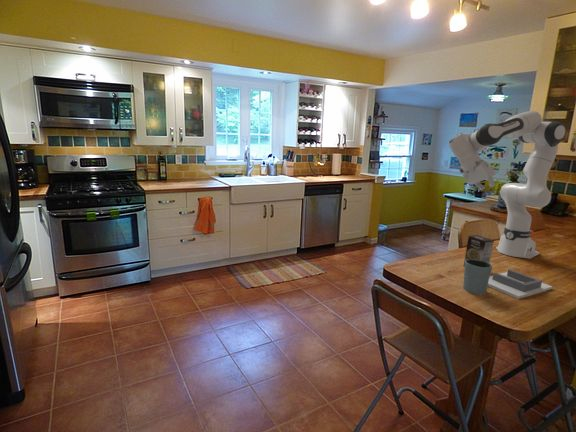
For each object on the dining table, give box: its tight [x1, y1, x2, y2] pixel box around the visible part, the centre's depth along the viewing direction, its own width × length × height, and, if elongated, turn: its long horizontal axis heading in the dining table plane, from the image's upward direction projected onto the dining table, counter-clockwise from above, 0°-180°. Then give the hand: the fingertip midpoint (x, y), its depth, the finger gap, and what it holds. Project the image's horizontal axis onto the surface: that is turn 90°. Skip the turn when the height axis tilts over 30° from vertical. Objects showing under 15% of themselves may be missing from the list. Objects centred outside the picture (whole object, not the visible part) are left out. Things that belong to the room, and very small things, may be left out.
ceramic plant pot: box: [462, 259, 493, 295], centre depth 143 cm, size 10×10×12 cm
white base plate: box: [487, 269, 553, 300], centre depth 150 cm, size 24×18×4 cm
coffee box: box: [463, 234, 495, 268], centre depth 165 cm, size 9×6×16 cm
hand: (488, 188), depth 167 cm, fingers open, 8 cm apart
